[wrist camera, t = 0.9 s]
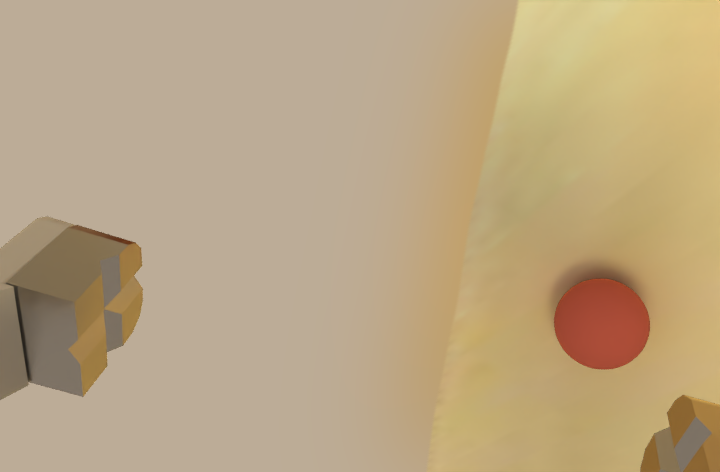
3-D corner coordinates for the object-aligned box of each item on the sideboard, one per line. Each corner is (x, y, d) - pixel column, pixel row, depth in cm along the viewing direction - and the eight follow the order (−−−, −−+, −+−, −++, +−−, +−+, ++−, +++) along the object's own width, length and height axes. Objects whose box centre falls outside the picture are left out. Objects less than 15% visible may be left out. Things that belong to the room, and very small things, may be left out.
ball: (664, 320, 47) (674, 355, 42) (588, 362, 49) (589, 400, 44) (611, 251, 47) (615, 276, 42) (539, 296, 49) (532, 326, 44)
